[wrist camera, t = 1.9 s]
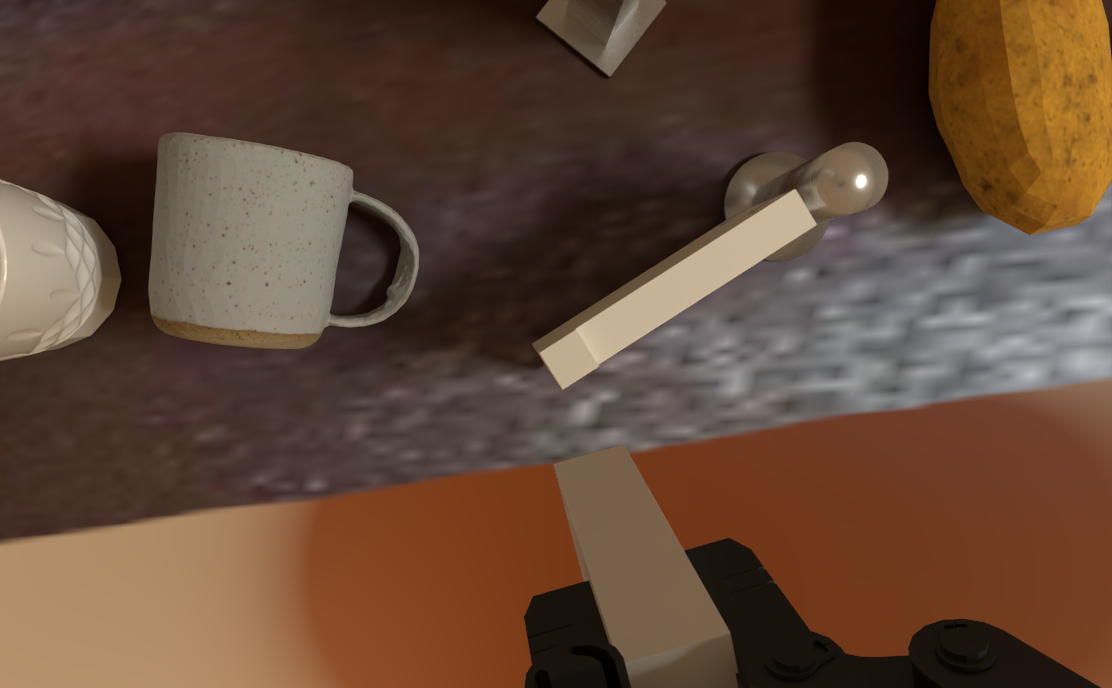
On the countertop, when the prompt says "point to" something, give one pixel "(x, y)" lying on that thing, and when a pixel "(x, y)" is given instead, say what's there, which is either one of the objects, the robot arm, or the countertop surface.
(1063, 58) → the potato
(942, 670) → the robot arm
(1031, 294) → the countertop surface
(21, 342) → the white cup
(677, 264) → the gate
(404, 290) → the ceramic mug
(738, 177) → the gate posts
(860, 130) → the countertop surface
